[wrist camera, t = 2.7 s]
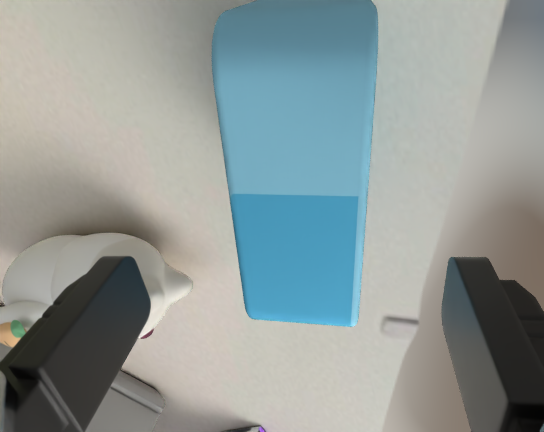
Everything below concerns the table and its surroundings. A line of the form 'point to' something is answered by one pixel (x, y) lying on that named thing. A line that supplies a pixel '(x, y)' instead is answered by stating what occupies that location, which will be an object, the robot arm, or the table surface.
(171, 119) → the table surface
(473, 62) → the table surface
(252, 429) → the candy box
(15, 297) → the cat figurine
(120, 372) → the laptop
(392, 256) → the table surface
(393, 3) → the table surface
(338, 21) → the blue rounded block
